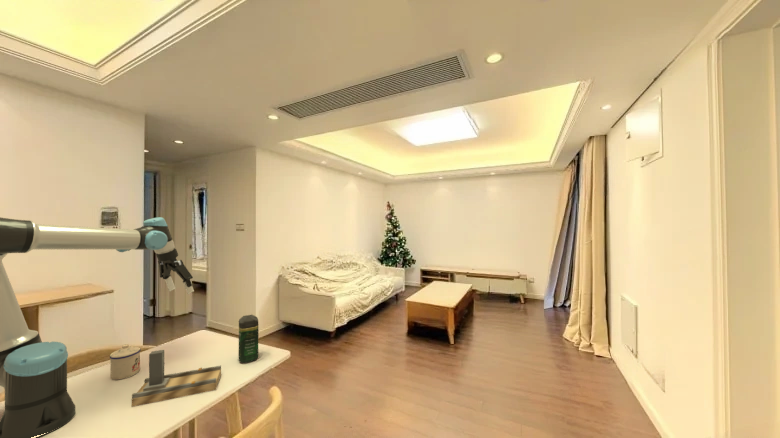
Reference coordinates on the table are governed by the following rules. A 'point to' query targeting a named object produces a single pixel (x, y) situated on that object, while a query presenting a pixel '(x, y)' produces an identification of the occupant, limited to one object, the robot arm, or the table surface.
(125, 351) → the teacup with lid
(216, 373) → the fader console
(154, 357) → the fader tab
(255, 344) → the coffee jar
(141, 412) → the table surface
